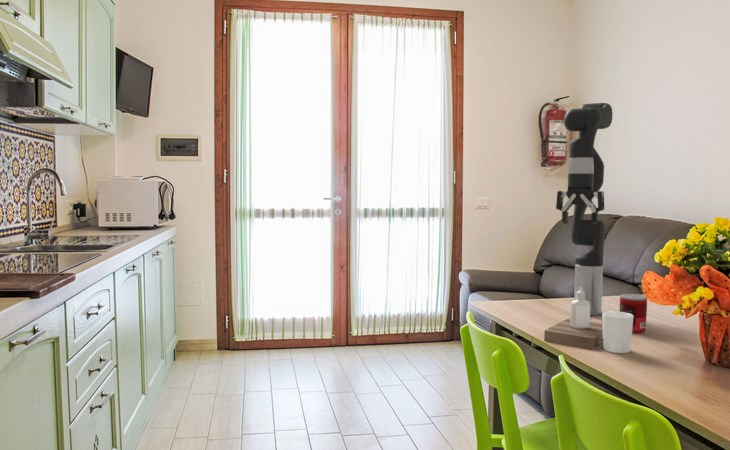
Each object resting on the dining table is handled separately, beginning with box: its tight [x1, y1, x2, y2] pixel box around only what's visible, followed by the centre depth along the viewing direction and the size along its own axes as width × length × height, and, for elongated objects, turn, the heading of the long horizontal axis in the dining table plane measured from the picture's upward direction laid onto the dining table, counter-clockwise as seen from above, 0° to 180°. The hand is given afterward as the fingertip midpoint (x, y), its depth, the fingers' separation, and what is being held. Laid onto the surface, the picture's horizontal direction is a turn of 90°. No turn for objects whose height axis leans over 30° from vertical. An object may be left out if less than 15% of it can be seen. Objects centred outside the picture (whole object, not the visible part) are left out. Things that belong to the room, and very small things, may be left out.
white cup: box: [601, 310, 634, 354], centre depth 157 cm, size 8×8×10 cm
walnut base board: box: [543, 317, 603, 350], centre depth 170 cm, size 20×14×3 cm
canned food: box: [619, 293, 648, 334], centre depth 178 cm, size 8×8×11 cm
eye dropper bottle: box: [570, 287, 591, 329], centre depth 170 cm, size 4×6×12 cm
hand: (579, 224), depth 180 cm, fingers open, 8 cm apart
